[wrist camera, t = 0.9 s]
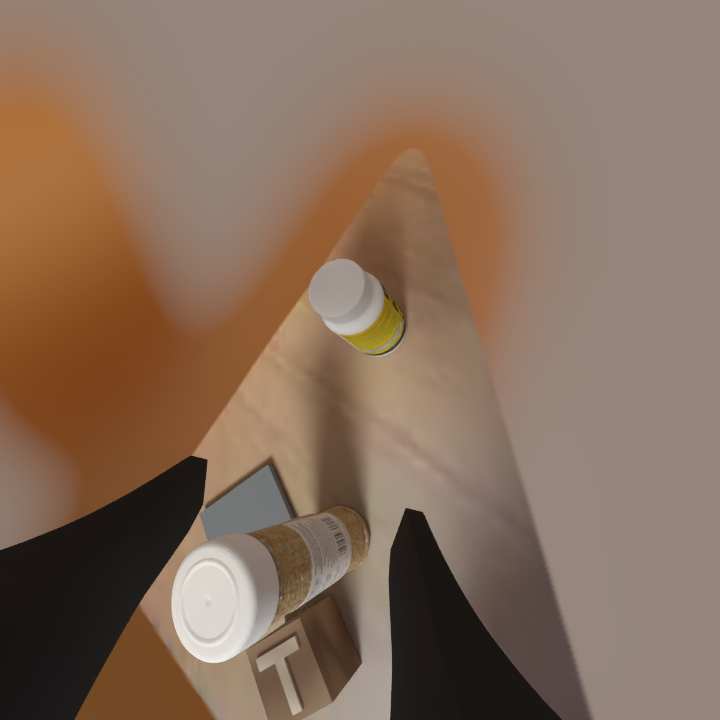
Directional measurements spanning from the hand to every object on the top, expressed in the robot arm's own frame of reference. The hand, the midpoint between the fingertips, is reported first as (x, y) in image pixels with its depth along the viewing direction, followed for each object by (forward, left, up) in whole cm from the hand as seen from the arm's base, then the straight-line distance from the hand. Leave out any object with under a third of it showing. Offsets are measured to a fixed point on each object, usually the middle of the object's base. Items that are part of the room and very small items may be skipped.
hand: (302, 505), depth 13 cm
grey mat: (+3, +14, -15) cm, 20 cm away
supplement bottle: (+11, -4, -15) cm, 19 cm away
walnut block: (-6, +12, -15) cm, 20 cm away
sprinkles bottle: (-1, +7, -15) cm, 17 cm away
